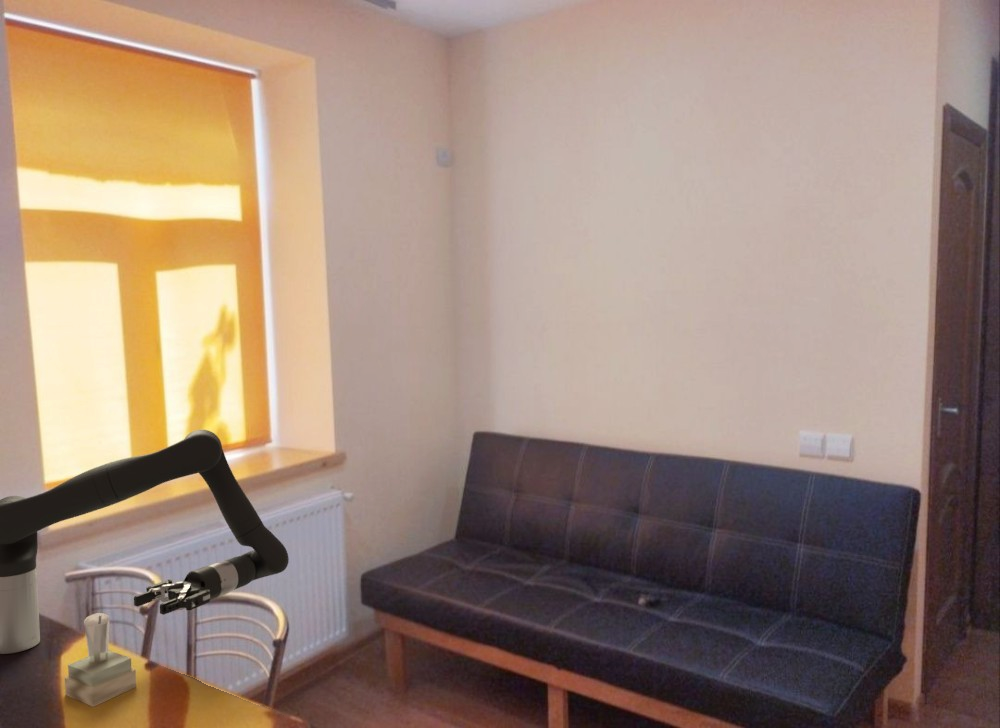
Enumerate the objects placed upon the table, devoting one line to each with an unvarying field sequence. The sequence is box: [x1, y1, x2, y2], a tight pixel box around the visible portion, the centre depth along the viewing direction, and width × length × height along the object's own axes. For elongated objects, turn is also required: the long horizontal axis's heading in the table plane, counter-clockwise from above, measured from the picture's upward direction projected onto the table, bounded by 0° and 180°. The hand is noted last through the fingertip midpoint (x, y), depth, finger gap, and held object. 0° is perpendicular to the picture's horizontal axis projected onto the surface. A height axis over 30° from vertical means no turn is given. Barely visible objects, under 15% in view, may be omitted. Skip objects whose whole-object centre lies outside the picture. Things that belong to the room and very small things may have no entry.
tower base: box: [64, 649, 137, 708], centre depth 156 cm, size 9×9×6 cm
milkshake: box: [83, 612, 110, 663], centre depth 155 cm, size 4×5×10 cm
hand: (147, 605), depth 164 cm, fingers open, 8 cm apart
